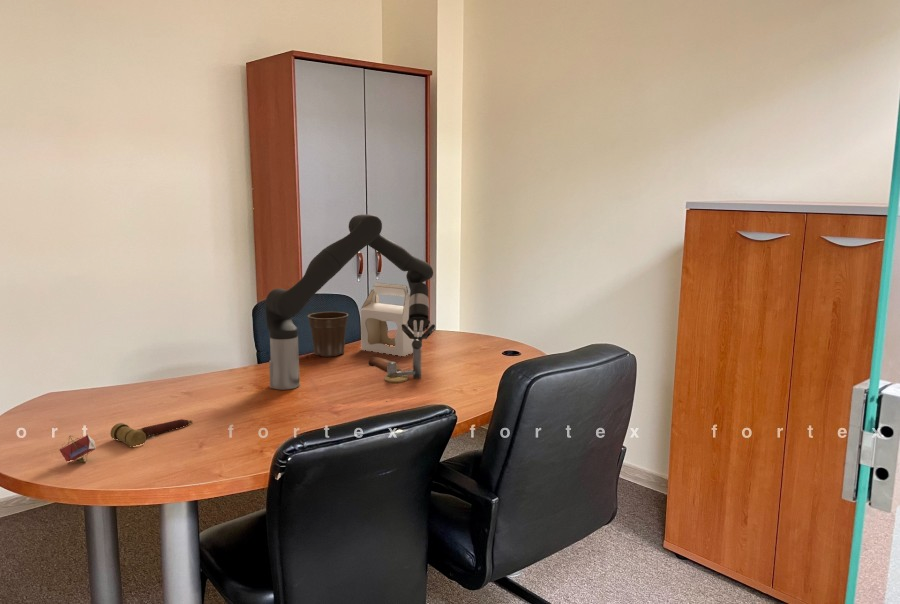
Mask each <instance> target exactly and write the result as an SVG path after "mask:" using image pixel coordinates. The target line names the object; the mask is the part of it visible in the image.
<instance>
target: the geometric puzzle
mask: <svg viewBox="0 0 900 604" xmlns="http://www.w3.org/2000/svg"><path fill="white" fill-rule="evenodd" d="M75 436H78V435H71V436H68V438H67V439H68V440H70V439H71V441H68V442H67V444H65V443H63V444H62V446H63V447H60V449H59V451H60V453H61V455H62V457H63V458H64V460H65V462H67V461H70V460H74V461H75V460H76V461H79V459H80V458H81V459H83V458H84V455H85V456H88V455H89V454H90V453H91V455H92V454H93V453H92V452H93V451H95V450H96V442H95V440H94V439H93V438H91V436H89V435H88V434H86V435H84V436H83V435H82V437H79V438H78V437H76V438H75V440H74V439H72V438H74V437H75ZM64 444H65V445H64ZM85 461H88V457H86V459H85Z"/></svg>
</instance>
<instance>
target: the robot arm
mask: <svg viewBox="0 0 900 604" xmlns="http://www.w3.org/2000/svg"><path fill="white" fill-rule="evenodd" d="M382 229H383V222H382V220H381V219H380V218H379V216H377V215H375V214H358V215H357V214H356V215H354V216H353V217H351V219H350V220H349V222H348V230H349V233H348V234H347V235H346V236H344V237H343V238H340V239H338V240H336V241H334V242H333V243H331V244H330V245H327V246H326V247H324V248H323V249H322V250H321V251H319V253H317V255H316V256H314V257H313V258H312V259H311V260H310V262H309V264H308V266H307V268H306V270H305V273H304V275H303V277H302V278H301V279H300V280H299V281H298V282H297V283H295V285H293V286H291V288H289V289H284V288H274V289H272V290H271V291H270V292H268V294H267V296H266V299H265V316H266V317H265V318H266V326H267V331H268V333H269V346H270V348H269V349H270V360H269V361H268V363H269V364H268V365H269V366H268V369H269V370H268V371H269V389H275V390H283V391H284V390H285V391H286V390H291V389H296V388H298V387H300V383H301V382H300V379H301V378H300V357H299V355H300V353H299V332H298V331H299V330H298V327H297V326H296V325H295V324H294V322H293V319H292V318H294V317H295V316H297V315H298V314H299V313H300V312H301V311H302V309H303V308H304V307H305V306H306V305H307V304H308V302H310V300H311V299H312V298H313V297H314V296H315V294H316V293H318V291H320V290H321V289H322V288H323V287H324V286H325V285H326V284H327V283H328V282H329V281H330V280H332V278H333V277H335V276H336V275H337V274H338V273H339V272H340V271H341V270H342V269H343V268H344V267H345V266H346V265H347V264H348V263H349V262H350V261H351V260H352V259H354V257H355V256H356V255H357V254H358V253H360V251H361V250H363V249H364V248H365V247H366V246H369V248H372V249H373V250H374V251H376V252H378V253H379V254H381V256H383V257H384V258H385V259H387V260H388V261H389V262H391V263H392V264H393V265H394V266H396V268H398V269H399V270H401V271H402V272H406V281H407V283H408V288H409V293H410V301H409V319H408V321H407V323H406V324H405V325H404V324H402V330H403V331H404V332H405V334H406V335H407V336H408V337H409V338H410V339H414V340H416V339H418V340H420V341H421V342H422V343H423V340H427V339H428V338H429V337H430V336H431V335H432V334H433V333H434V331H435V330H436V324H434V323H431V321H430V318H429V317H430V301H429V287H428V285H427V284H426V283H424V282H427V281H429V280H431V279H432V278H433V276H434V269H433V267H432V266H431V264H430V263H428V262H426V261H425V260H423V259H420V258H419V257H416V256H414V255H412V254H411V253H410V252H409V251H408V250H406V249H405V248H404V247H402V246H401V245H399V244H398V243H396V242H394V241H392V240H390V239H389V238H386V237H385V236H383V235H382V234H381V232H382ZM408 326H409V328H410V329H411V330H412V331H413V332H414V334H412V332H411V331H410V330H409V329H408ZM417 332H419V337H418V336H417Z"/></svg>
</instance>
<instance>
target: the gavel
mask: <svg viewBox="0 0 900 604" xmlns="http://www.w3.org/2000/svg"><path fill="white" fill-rule="evenodd" d="M190 423H191V424H193V420H192V419H183V418H181V419H175V420H171V421H167V422H166V421H165V422H163V423H158V424H152V425H148V426H144V427H142V428H139V429H134V428H133V427H130V426H129V425H128V424H125V423H123V422H122V423H121V422H119V423H115V425H113V426H112V427H111V429H110V437H111V438H112V439H113V438H114V439H118V440H120V441H119V442H122V443H123V444H126V445H127V446H128V445H129V446H128V447H130V446H131V447H130V448H132V447H133V446H136V445H140V444H143V443H144V444H145V443H146V441H147V437H150V436H154V435H153V434H155V435H157V433H159V434H162V433H161V432H164V433H166V432H165V431H168V432H170V431H169V430H172V429H176V428H180V427H183V426H186V425H187V426H189V425H190ZM188 424H189V425H188ZM187 426H186V427H187ZM183 428H184V427H183ZM180 429H181V428H180ZM176 430H177V429H176ZM172 431H173V430H172ZM149 435H150V436H149ZM114 439H113V440H114Z"/></svg>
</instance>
